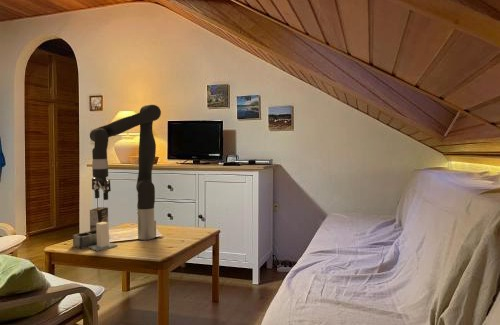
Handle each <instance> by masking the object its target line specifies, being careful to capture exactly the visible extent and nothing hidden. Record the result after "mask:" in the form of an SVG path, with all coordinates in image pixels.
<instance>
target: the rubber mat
mask: <svg viewBox="0 0 500 325" xmlns="http://www.w3.org/2000/svg"><path fill="white" fill-rule="evenodd" d="M117 247H118V244H116V243H113V242H110V241H109V246H105V247H99V246H97V245H93V246H89V247H88V249H90V248H91V249H90V250H93V251H95V250H96V252H100V251H99V250H101V251H105V250H109V249H113V248H117ZM108 248H109V249H108ZM104 249H105V250H104Z"/></svg>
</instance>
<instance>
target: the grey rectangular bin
mask: <svg viewBox="0 0 500 325" xmlns="http://www.w3.org/2000/svg"><path fill="white" fill-rule="evenodd" d="M93 245H97V233H96V230H94V231H90V230H89V231H84V232H81V233H80V232H79V233H76V234H72V246H73V247H75V248H77V249H80V250H82V249H87V248H89V246H93Z"/></svg>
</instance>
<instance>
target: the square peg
mask: <svg viewBox="0 0 500 325" xmlns="http://www.w3.org/2000/svg"><path fill="white" fill-rule="evenodd" d="M109 228H110V226H109V222H108V223H107V222H100V223H96V233H97V246H99V247H105V246H109V242H110V233H109V232H110V231H109Z"/></svg>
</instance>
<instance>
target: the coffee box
mask: <svg viewBox="0 0 500 325" xmlns="http://www.w3.org/2000/svg"><path fill="white" fill-rule="evenodd" d="M100 222H107V223H109V208H108V207H106V206H105V207H103V206H102V207H99V206H98V207H96V208H95V207H94V208H92V209H89V231H94V230H96V223H100Z"/></svg>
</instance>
